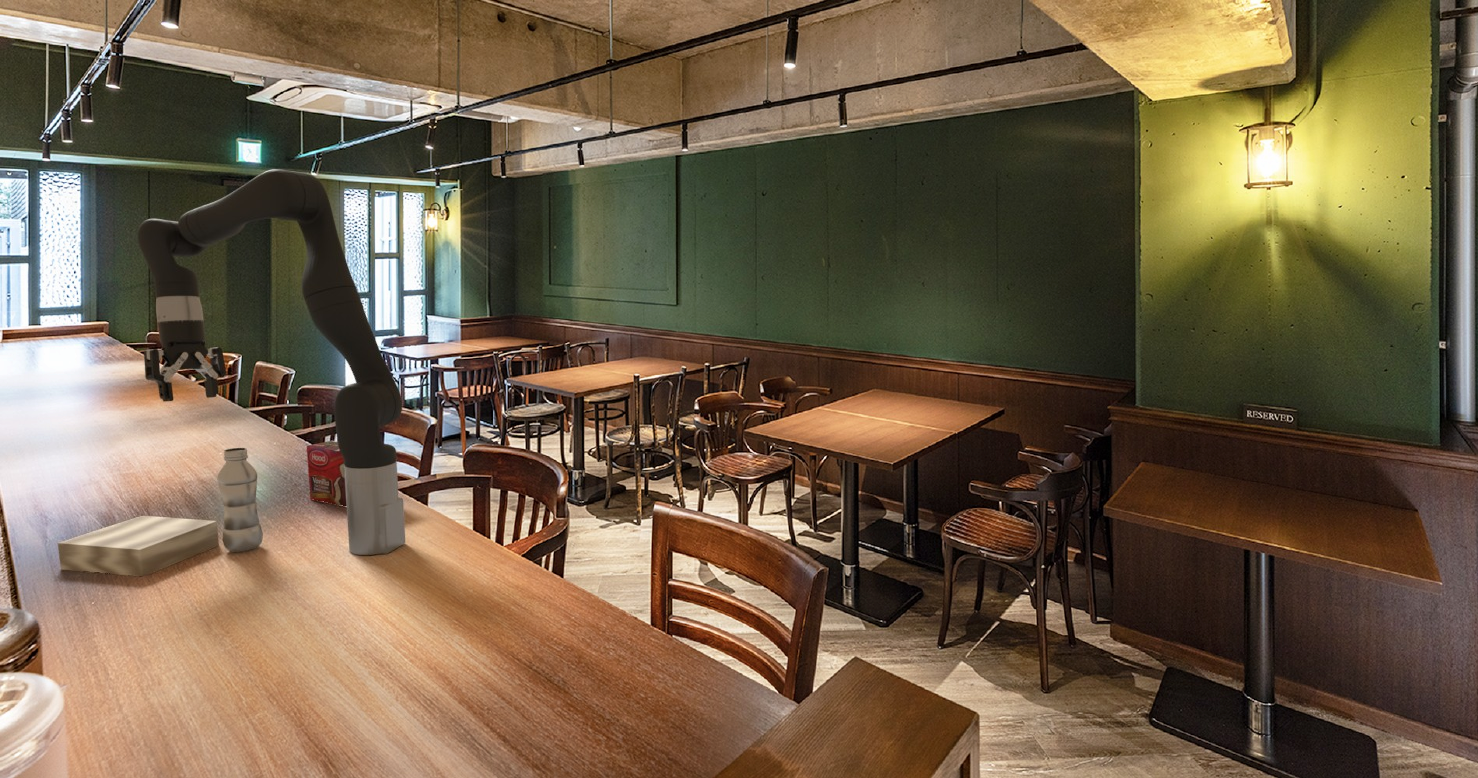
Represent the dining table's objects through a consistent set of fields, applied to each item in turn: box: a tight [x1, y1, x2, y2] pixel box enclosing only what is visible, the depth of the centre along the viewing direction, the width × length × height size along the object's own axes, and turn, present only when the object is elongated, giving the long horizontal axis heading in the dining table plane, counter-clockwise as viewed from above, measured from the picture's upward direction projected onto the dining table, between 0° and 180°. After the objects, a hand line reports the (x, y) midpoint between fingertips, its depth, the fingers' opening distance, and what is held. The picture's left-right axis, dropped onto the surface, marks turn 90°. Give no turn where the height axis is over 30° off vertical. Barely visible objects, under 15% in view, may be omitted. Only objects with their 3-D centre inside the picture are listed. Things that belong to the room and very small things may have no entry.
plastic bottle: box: [216, 447, 264, 553], centre depth 142 cm, size 6×7×20 cm
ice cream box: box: [306, 440, 347, 507], centre depth 174 cm, size 20×6×13 cm, turn 65°
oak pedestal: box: [57, 515, 220, 578], centre depth 139 cm, size 17×16×5 cm
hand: (190, 399), depth 150 cm, fingers open, 8 cm apart
